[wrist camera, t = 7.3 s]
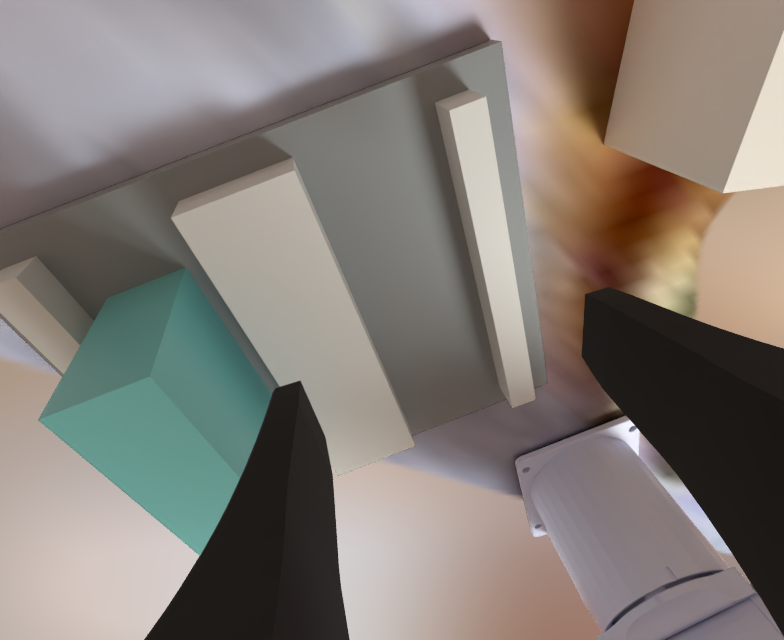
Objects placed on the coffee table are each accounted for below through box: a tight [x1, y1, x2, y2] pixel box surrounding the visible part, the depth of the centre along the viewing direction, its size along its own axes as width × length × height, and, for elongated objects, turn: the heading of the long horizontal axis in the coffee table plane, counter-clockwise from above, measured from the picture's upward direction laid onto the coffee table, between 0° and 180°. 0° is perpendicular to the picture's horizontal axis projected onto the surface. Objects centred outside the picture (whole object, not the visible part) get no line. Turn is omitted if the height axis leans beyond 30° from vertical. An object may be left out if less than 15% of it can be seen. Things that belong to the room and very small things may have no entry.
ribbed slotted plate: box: [0, 40, 548, 476], centre depth 19 cm, size 16×19×2 cm
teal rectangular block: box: [38, 267, 272, 555], centre depth 17 cm, size 9×3×6 cm, turn 17°
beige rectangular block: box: [604, 0, 784, 193], centre depth 13 cm, size 9×3×6 cm, turn 2°
